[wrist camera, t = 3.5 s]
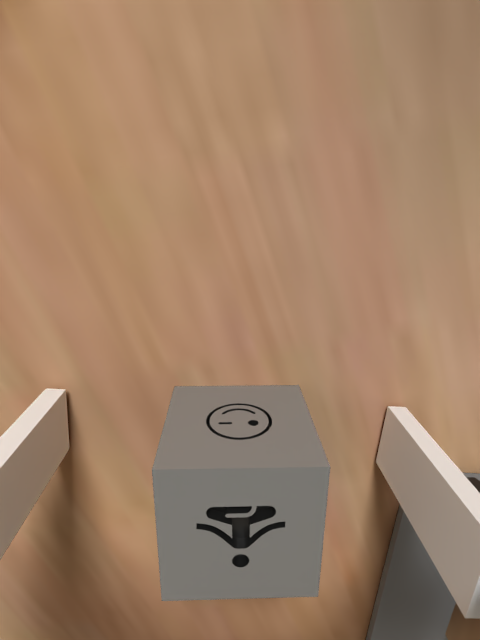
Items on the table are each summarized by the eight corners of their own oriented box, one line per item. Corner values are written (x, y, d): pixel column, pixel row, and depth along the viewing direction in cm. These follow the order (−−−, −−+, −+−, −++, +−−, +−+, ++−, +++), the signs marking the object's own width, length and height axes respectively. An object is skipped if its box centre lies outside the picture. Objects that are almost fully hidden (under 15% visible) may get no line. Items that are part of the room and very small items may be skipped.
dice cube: (298, 384, 16) (330, 466, 11) (292, 485, 17) (318, 596, 12) (174, 385, 16) (151, 469, 11) (179, 487, 17) (161, 600, 12)
